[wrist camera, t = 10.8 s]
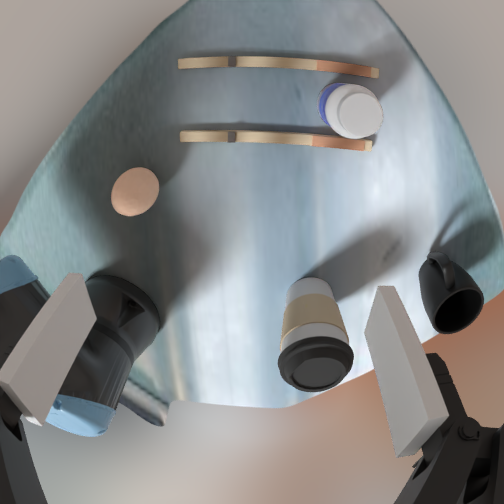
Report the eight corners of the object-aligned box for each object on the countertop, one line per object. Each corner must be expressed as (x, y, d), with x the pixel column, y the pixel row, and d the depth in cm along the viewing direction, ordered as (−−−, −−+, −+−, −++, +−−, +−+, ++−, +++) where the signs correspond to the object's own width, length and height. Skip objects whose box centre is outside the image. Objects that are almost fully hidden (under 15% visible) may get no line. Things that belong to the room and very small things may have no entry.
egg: (174, 183, 39) (152, 210, 32) (146, 206, 41) (122, 236, 34) (148, 151, 37) (119, 172, 30) (121, 177, 39) (91, 202, 32)
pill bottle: (317, 128, 35) (331, 146, 26) (314, 82, 32) (328, 85, 23) (363, 127, 34) (390, 146, 26) (361, 82, 31) (390, 86, 23)
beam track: (182, 140, 36) (179, 142, 35) (180, 59, 31) (177, 58, 30) (368, 149, 35) (371, 151, 34) (376, 68, 30) (379, 68, 29)
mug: (447, 217, 39) (480, 253, 31) (460, 278, 44) (485, 318, 36) (397, 241, 41) (421, 282, 33) (416, 300, 46) (436, 343, 38)
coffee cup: (351, 284, 45) (372, 364, 33) (320, 325, 50) (329, 405, 37) (296, 261, 44) (302, 344, 31) (268, 307, 49) (264, 389, 36)
